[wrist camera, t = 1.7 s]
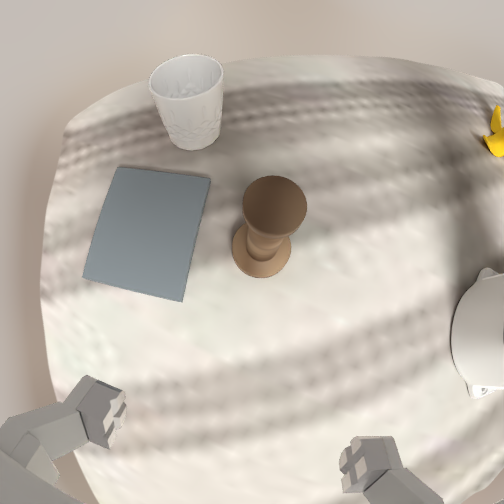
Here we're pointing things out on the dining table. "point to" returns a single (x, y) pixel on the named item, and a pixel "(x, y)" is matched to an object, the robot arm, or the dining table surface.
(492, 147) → the banana peel
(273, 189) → the brown post
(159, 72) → the white cup
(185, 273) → the gray book
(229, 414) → the dining table surface
